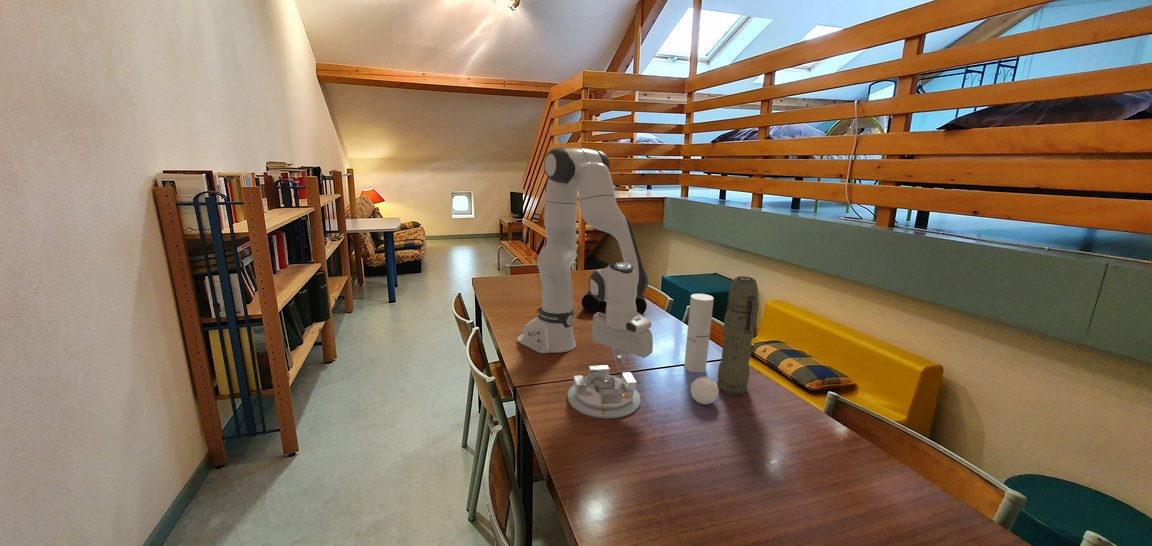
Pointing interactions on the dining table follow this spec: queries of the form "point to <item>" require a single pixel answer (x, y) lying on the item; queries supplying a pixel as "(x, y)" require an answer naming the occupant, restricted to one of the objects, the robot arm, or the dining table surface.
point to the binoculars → (596, 305)
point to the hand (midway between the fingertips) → (620, 362)
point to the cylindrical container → (698, 332)
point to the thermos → (738, 335)
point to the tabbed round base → (604, 389)
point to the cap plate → (603, 413)
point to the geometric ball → (704, 390)
